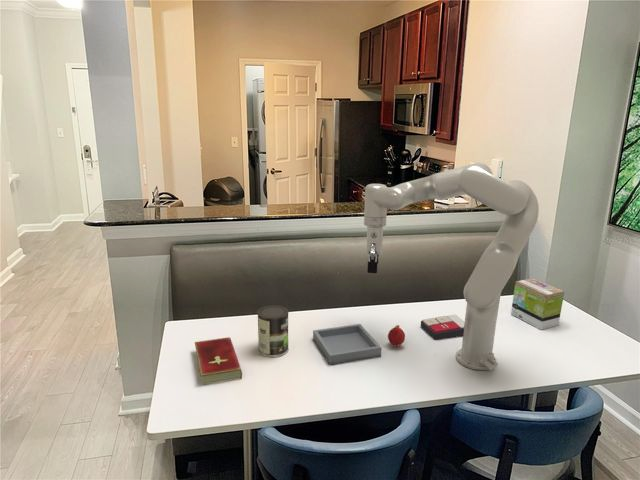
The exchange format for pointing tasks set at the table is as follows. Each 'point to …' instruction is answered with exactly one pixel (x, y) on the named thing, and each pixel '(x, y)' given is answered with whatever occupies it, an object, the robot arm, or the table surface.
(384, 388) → the table surface
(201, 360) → the hardcover book
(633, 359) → the table surface
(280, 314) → the coffee can
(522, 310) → the tea box
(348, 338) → the tray
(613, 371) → the table surface
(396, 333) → the onion
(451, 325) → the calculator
